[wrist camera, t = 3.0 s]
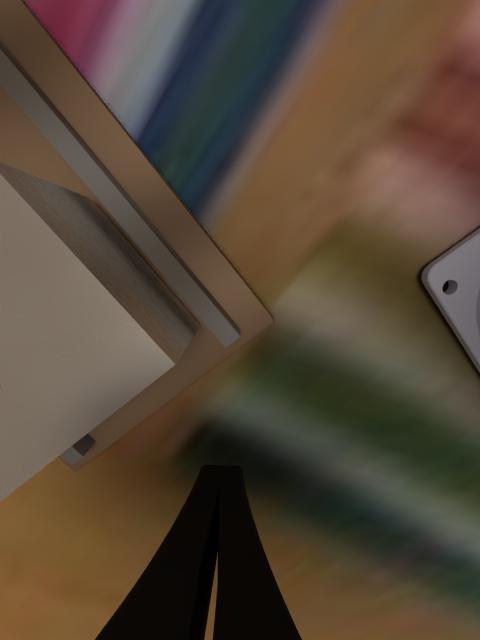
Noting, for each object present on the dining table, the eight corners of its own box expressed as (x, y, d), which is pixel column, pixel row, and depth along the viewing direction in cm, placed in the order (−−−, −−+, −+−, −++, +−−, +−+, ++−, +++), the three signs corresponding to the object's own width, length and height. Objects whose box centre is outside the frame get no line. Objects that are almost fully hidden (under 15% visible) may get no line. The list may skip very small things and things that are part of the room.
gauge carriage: (200, 325, 8) (175, 364, 5) (37, 455, 10) (-60, 548, 7) (75, 181, 7) (-45, 125, 4) (-87, 346, 9) (-272, 394, 6)
